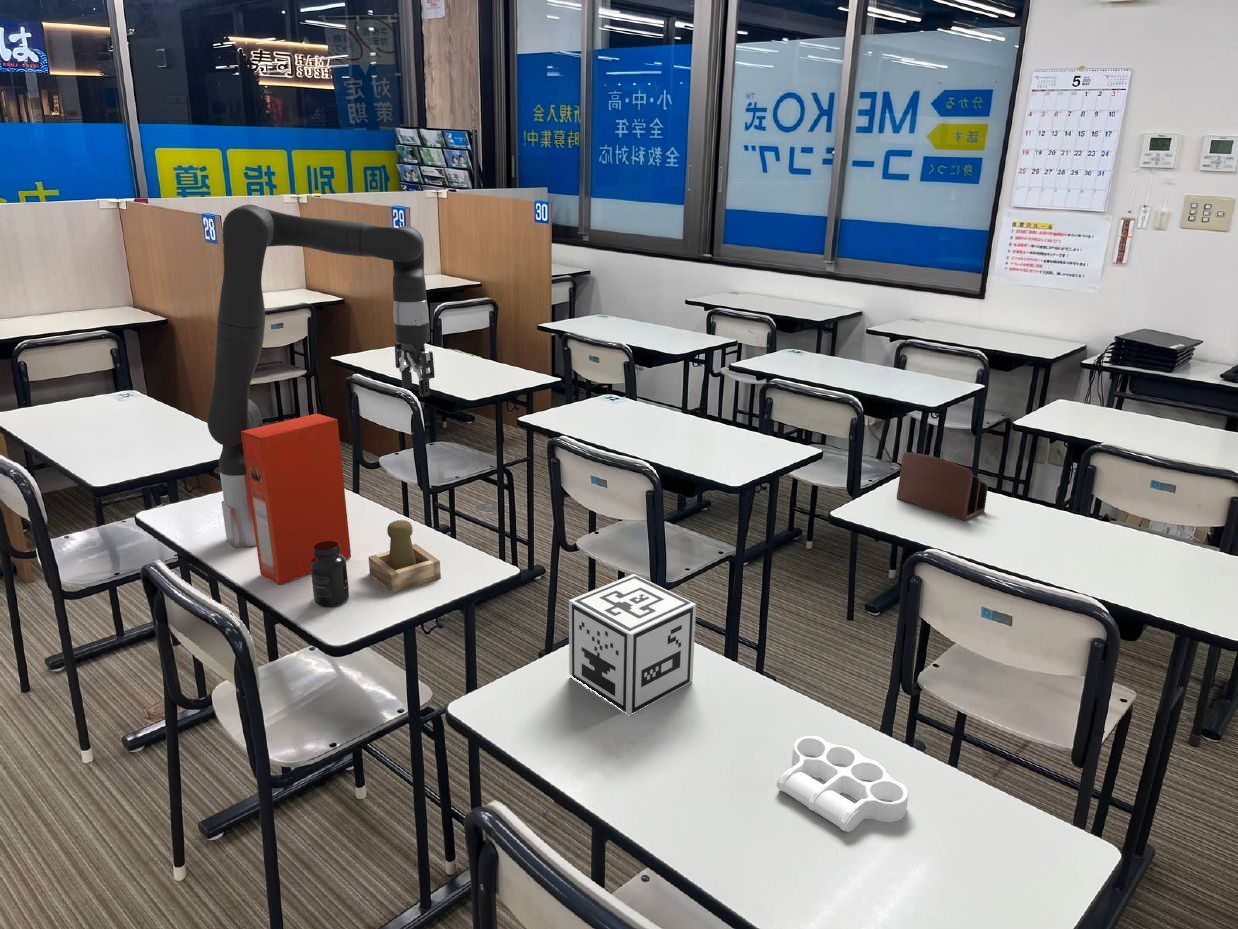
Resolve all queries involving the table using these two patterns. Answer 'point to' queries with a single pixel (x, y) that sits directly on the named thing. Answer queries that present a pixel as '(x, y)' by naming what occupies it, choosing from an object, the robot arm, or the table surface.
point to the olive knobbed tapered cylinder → (400, 545)
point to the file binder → (295, 493)
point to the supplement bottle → (329, 575)
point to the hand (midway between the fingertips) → (416, 392)
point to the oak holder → (405, 570)
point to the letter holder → (941, 486)
